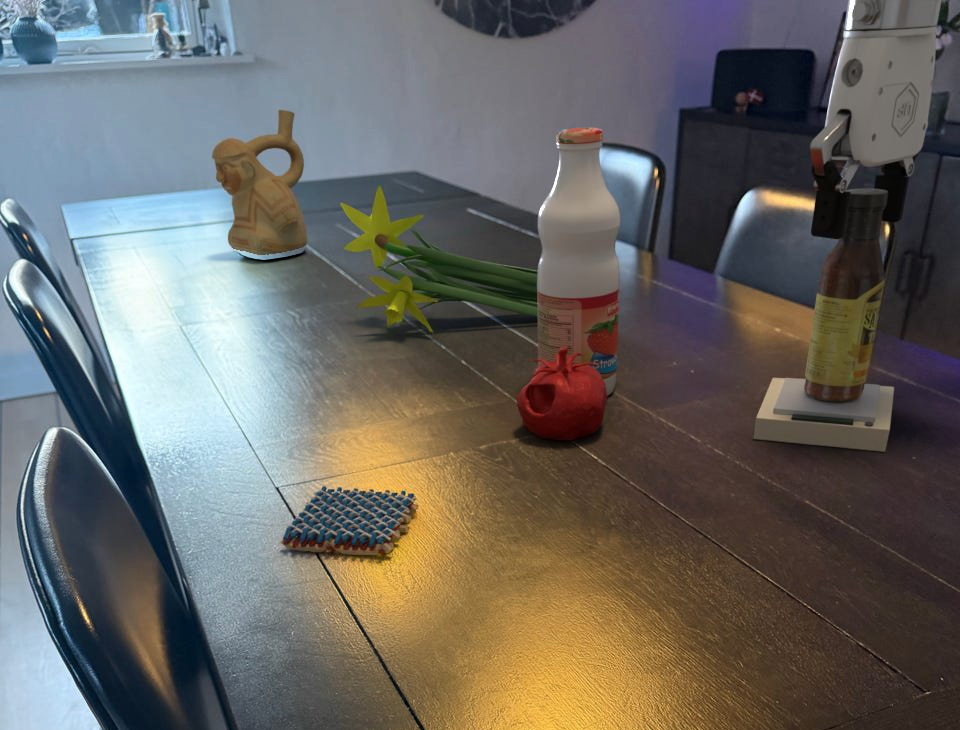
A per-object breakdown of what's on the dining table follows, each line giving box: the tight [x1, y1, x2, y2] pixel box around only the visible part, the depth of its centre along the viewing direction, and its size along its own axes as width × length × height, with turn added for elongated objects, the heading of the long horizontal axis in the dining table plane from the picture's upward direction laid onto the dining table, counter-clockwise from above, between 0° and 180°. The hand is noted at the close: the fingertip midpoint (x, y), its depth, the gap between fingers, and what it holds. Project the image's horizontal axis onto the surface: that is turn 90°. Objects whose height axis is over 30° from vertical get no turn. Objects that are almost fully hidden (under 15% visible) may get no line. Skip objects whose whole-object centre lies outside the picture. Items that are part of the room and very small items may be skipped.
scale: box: [753, 377, 895, 453], centre depth 100 cm, size 13×13×3 cm
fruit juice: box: [536, 127, 621, 397], centre depth 105 cm, size 9×9×28 cm
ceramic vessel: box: [211, 109, 308, 255], centre depth 180 cm, size 17×20×25 cm
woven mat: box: [280, 485, 419, 556], centre depth 85 cm, size 10×11×2 cm
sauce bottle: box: [804, 187, 888, 402], centre depth 94 cm, size 6×6×20 cm
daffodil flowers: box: [339, 185, 538, 333], centre depth 135 cm, size 17×15×35 cm
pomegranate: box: [516, 346, 608, 441], centre depth 100 cm, size 10×10×9 cm
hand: (856, 228), depth 90 cm, fingers open, 9 cm apart
